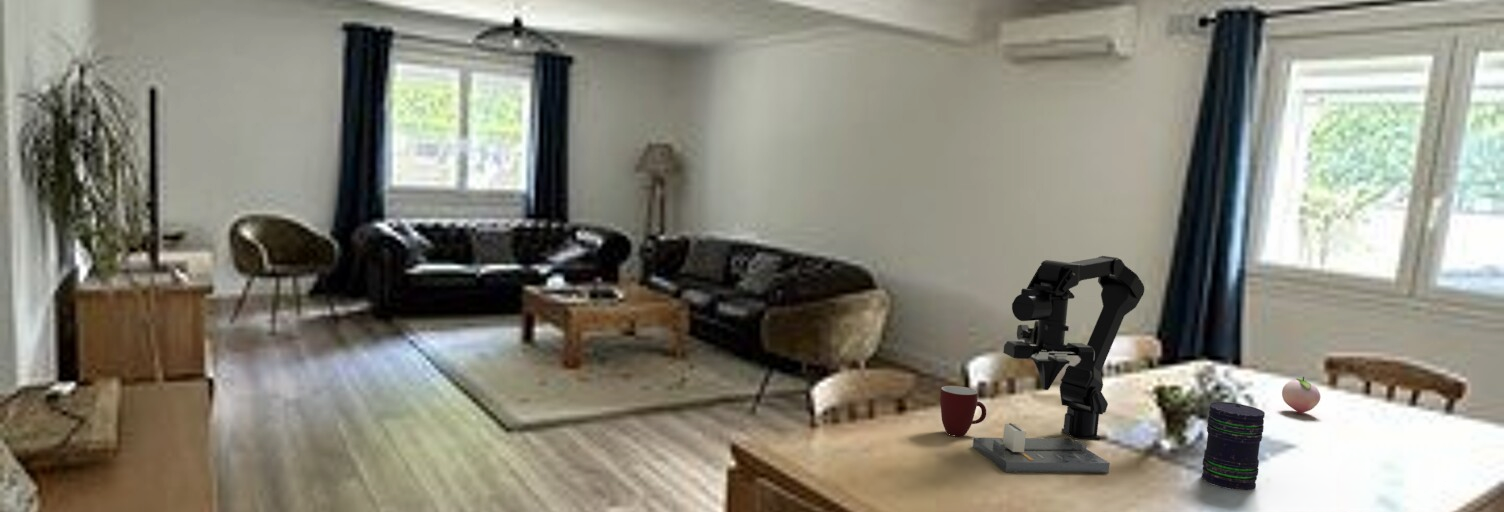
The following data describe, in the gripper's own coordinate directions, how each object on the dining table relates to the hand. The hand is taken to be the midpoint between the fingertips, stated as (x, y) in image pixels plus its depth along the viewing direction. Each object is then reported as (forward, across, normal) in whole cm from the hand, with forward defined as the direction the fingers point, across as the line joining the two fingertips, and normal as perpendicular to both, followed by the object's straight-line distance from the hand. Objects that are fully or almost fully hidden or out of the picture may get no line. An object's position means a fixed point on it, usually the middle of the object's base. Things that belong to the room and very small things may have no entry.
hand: (1045, 389), depth 199 cm
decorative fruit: (+12, -88, -28) cm, 93 cm away
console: (+12, +6, +11) cm, 17 cm away
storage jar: (+12, -28, +24) cm, 39 cm away
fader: (+10, +12, +11) cm, 19 cm away
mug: (+12, +16, -6) cm, 21 cm away
